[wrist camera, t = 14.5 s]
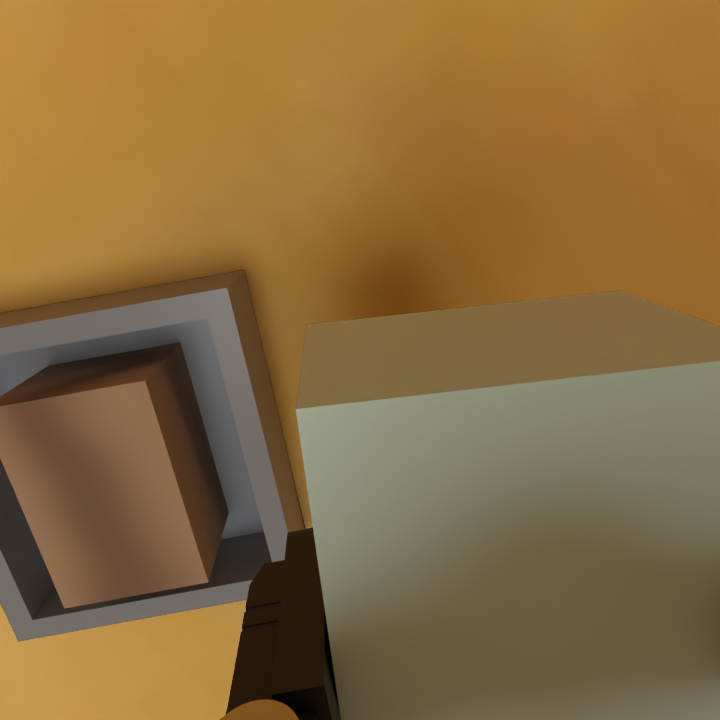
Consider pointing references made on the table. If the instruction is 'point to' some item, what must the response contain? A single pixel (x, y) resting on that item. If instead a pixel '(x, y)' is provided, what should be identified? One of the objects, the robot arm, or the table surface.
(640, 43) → the table surface
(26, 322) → the tray
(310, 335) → the sage carton
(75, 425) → the walnut block
